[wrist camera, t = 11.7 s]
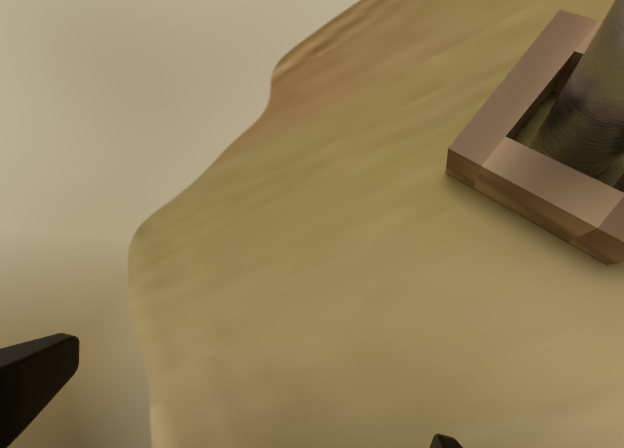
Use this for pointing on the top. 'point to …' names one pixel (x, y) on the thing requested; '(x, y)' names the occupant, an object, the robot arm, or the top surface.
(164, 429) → the top surface
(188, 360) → the top surface
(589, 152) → the metal pin
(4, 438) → the robot arm
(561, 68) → the socket block
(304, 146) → the top surface
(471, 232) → the top surface
